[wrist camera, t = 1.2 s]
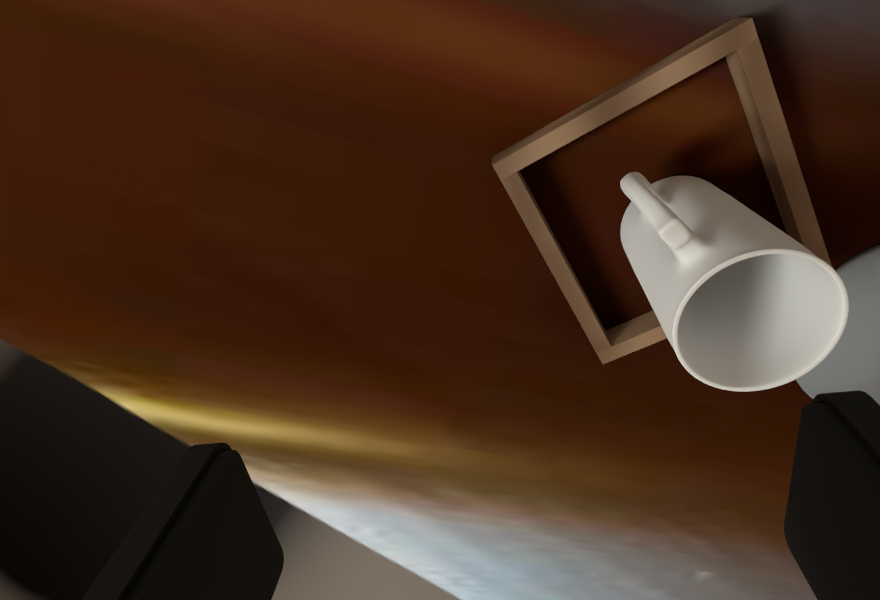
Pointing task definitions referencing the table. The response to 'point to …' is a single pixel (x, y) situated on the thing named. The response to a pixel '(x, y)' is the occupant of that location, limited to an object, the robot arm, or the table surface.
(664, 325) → the mug
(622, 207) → the table surface
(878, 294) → the grey round disc
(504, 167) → the corral
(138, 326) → the table surface
